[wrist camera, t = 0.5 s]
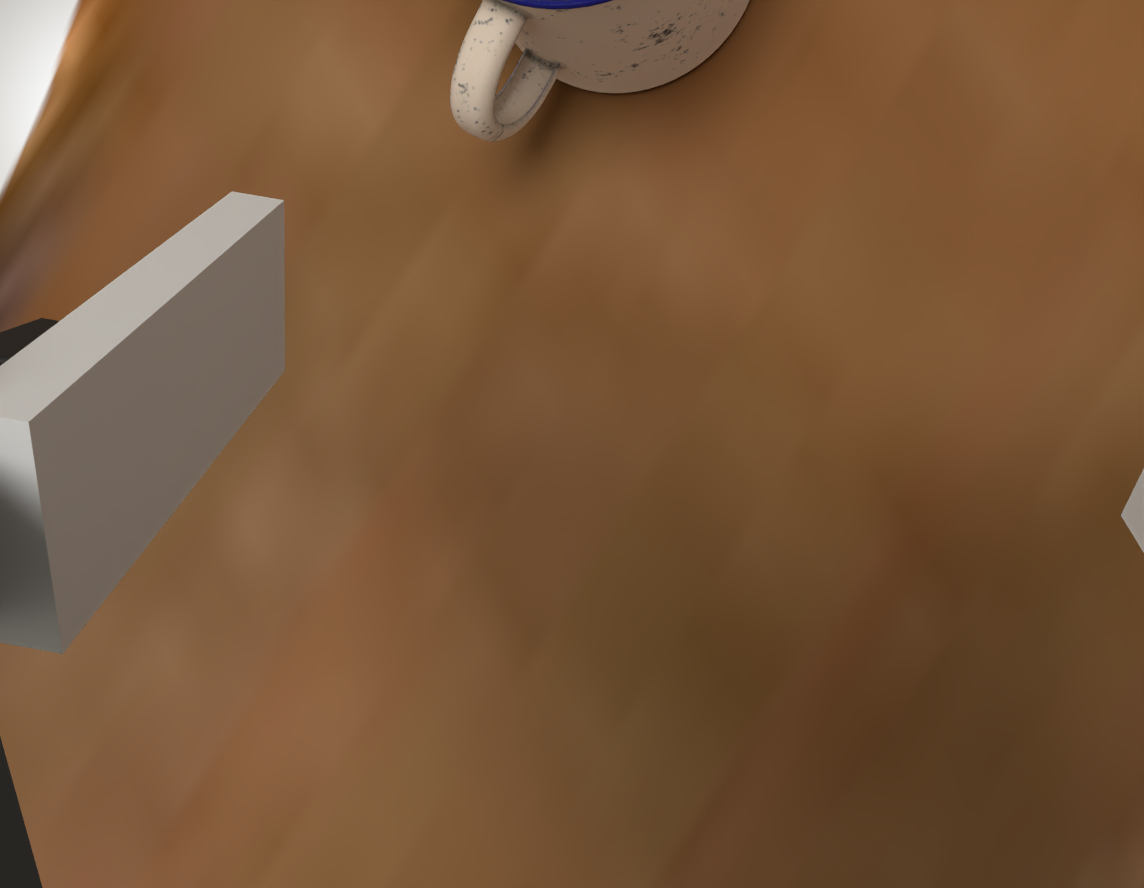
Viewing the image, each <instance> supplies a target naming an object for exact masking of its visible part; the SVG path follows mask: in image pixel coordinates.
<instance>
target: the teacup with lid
mask: <svg viewBox="0 0 1144 888" xmlns="http://www.w3.org/2000/svg"><path fill="white" fill-rule="evenodd" d="M749 1H750V0H482V3H481V5H480V7H479V9H478V11H477V13H476V15H475V17H474V19H473V21H472V23H471V25H470V28H469V30H468V32H467V34H466V36H465V39H464V41H463V43H462V46H461V49H460V51H459V54H458V57H457V60H456V64H455V68H454V72H453V77H452V83H451V92H450V103H451V110H452V113H453V116H454V118H455V120H456V122H457V124H458V125H459V126H460V127H461V128H462V129H463V130H465V131H466V132H468V133H470V134H472V135H474V136H476V137H478V138H480V139H482V140H485V141H491V142H495V141H501V140H504V139H506V138H509V137H511V136H512V135H514V134H515V133H517V132H518V131H519V130H521V129H522V128H523V127H524V126H525V125H526V124H527V123H528V122H529V121H530V120H531V118H532V117H533V116H534V115H535V113H536V112H537V111H538V109H539V108H540V106H541V105H542V103H543V101H544V100H545V98H546V96H547V95H548V93H549V91H550V89H551V88H552V86H553V84H554V82H555V80H556V79H558V80H560V81H562V82H564V83H567V84H569V85H572V86H574V87H578V88H581V89H584V90H589V91H594V92H602V93H628V92H637V91H642V90H646V89H650V88H654V87H657V86H660V85H663V84H665V83H668V82H670V81H672V80H675V79H677V78H678V77H680V76H682V75H684V74H686V73H688V72H689V71H691V70H692V69H694V68H695V67H696V66H698V65H699V64H701V63H702V62H703V61H704V60H706V59H707V58H708V57H709V56H710V55H711V54H712V53H713V52H714V51H715V50H716V49H718V48H719V47H720V46H721V44H722V43H723V42H724V41H725V40H726V38H727V37H728V36H729V35H730V34H731V32H732V31H733V29H734V28H735V26H736V25H737V24H738V22H739V20H740V18H741V17H742V15H743V13H744V11H745V9H746V7H747V5H748V3H749ZM515 43H516V45H517V46H518V47H519V48H520V50H521V51H522V52H523V54H522V56H521V58H520V60H519V62H518V63H517V65H516V67H515V69H514V71H513V73H512V74H511V76H510V78H509V79H508V81H507V82H506V84H505V85H504V87H503V88H502V89H501V91H500V92H499V93H498V94H497V95H496V91H497V87H498V83H499V80H500V76H501V74H502V71H503V68H504V66H505V63H506V61H507V59H508V57H509V54H510V52H511V50H512V48H513V46H514V44H515Z"/></svg>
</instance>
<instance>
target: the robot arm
mask: <svg viewBox="0 0 1144 888" xmlns="http://www.w3.org/2000/svg"><path fill="white" fill-rule="evenodd" d="M284 371H285V297H284V200H279V199H273V198H267V197H261V196H255V195H250V194H244V193H238V192H231V193H229V194H228V195H227V196H225V197H224V198H223V199H221V200H220V201H219V202H217V203H216V204H215V205H213V206H212V207H211V208H209V209H208V210H207V211H205V212H204V213H203V214H201V215H200V216H199V217H197V218H196V219H195V220H193V221H192V222H191V223H189V224H188V225H187V226H185V227H184V228H183V229H181V230H180V231H179V232H178V233H176V234H175V235H174V236H172V237H171V238H170V239H168V240H167V241H166V242H164V243H163V244H162V245H160V246H159V247H158V248H156V249H155V250H154V251H152V252H151V253H150V254H148V255H147V256H146V257H144V258H143V259H142V260H140V261H139V262H138V263H136V264H135V265H134V266H132V267H131V268H130V269H128V270H127V271H126V272H124V273H123V274H122V275H120V276H119V277H118V278H116V279H115V280H114V281H112V282H111V283H110V284H108V285H107V286H106V287H104V288H103V289H102V290H100V291H99V292H98V293H97V294H95V295H94V296H93V297H91V298H90V299H89V300H87V301H86V302H85V303H83V304H82V305H81V306H79V307H78V308H77V309H75V310H74V311H73V312H71V313H70V314H69V315H67V316H66V317H65V318H63V319H62V320H61V321H56V320H50V319H44V318H40V319H38V320H35V321H32V322H29V323H26V324H23V325H20V326H18V327H15V328H12V329H9V330H6V331H3V332H1V333H0V643H5V644H11V645H17V646H22V647H28V648H33V649H39V650H44V651H50V652H55V653H61V654H63V653H64V652H65V650H66V649H67V648H68V647H69V645H70V644H71V643H72V641H73V640H74V639H75V638H76V636H77V635H78V634H79V633H80V631H81V630H82V629H83V627H84V626H85V625H86V624H87V622H88V621H89V620H90V618H91V617H92V616H93V615H94V613H95V612H96V611H97V610H98V608H99V607H100V606H101V604H102V603H103V602H104V601H105V599H106V598H107V597H108V596H109V594H110V593H111V592H112V590H113V589H114V588H115V587H116V585H117V584H118V583H119V581H120V580H121V579H122V578H123V576H124V575H125V574H126V573H127V571H128V570H129V569H130V567H131V566H132V565H133V564H134V562H135V561H136V560H137V559H138V557H139V556H140V555H141V553H142V552H143V551H144V550H145V548H146V547H147V546H148V545H149V543H150V542H151V541H152V539H153V538H154V537H155V536H156V534H157V533H158V532H159V530H160V529H161V528H162V527H163V525H164V524H165V523H166V522H167V520H168V519H169V518H170V516H171V515H172V514H173V513H174V511H175V510H176V509H177V508H178V506H179V505H180V504H181V502H182V501H183V500H184V499H185V497H186V496H187V495H188V494H189V492H190V491H191V490H192V488H193V487H194V486H195V485H196V483H197V482H198V481H199V479H200V478H201V477H202V476H203V474H204V473H205V472H206V471H207V469H208V468H209V467H210V465H211V464H212V463H213V462H214V460H215V459H216V458H217V457H218V455H219V454H220V453H221V451H222V450H223V449H224V448H225V446H226V445H227V444H228V443H229V441H230V440H231V439H232V437H233V436H234V435H235V434H236V432H237V431H238V430H239V428H240V427H241V426H242V425H243V423H244V422H245V421H246V420H247V418H248V417H249V416H250V414H251V413H252V412H253V411H254V409H255V408H256V407H257V406H258V404H259V403H260V402H261V400H262V399H263V398H264V397H265V395H266V394H267V393H268V392H269V390H270V389H271V388H272V386H273V385H274V384H275V383H276V381H277V380H278V379H279V377H280V376H281V375H282V374H283V372H284ZM1121 516H1122V518H1123V520H1124V521H1125V523H1126V525H1127V526H1128V528H1129V529H1130V531H1131V533H1132V534H1133V536H1134V538H1135V539H1136V541H1137V542H1138V544H1139V546H1140V547H1141V549H1142V551H1143V552H1144V469H1143V471H1142V473H1141V475H1140V477H1139V479H1138V481H1137V483H1136V485H1135V487H1134V489H1133V492H1132V494H1131V496H1130V498H1129V500H1128V502H1127V504H1126V506H1125V508H1124V510H1123V512H1122V514H1121ZM0 888H42V885H41V881H40V878H39V874H38V870H37V867H36V863H35V860H34V856H33V853H32V849H31V845H30V842H29V838H28V835H27V831H26V827H25V824H24V820H23V817H22V813H21V810H20V806H19V802H18V799H17V795H16V792H15V788H14V784H13V781H12V777H11V774H10V770H9V767H8V763H7V759H6V756H5V752H4V749H3V745H2V741H1V738H0Z"/></svg>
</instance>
